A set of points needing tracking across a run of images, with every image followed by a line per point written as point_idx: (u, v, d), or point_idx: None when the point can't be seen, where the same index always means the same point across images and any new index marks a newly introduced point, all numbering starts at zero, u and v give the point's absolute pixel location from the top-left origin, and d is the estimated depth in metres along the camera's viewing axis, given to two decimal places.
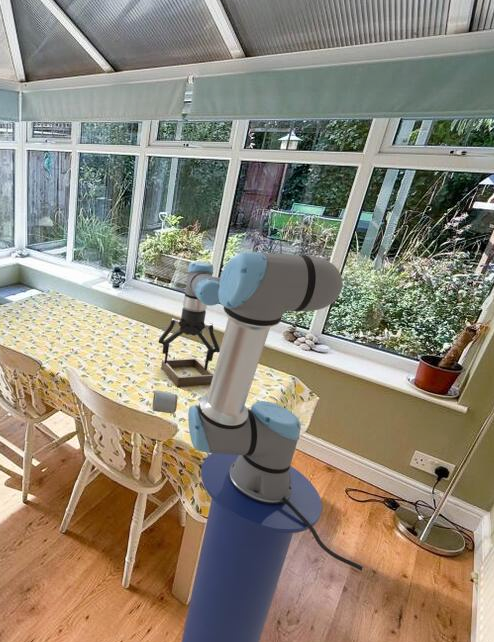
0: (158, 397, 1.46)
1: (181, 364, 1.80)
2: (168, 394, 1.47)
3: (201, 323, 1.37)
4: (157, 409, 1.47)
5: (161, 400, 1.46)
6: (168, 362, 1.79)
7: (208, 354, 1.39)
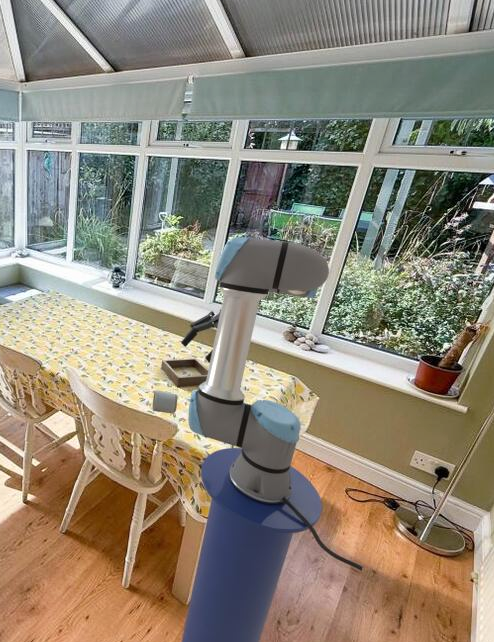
0: (158, 397, 1.46)
1: (181, 364, 1.80)
2: (168, 394, 1.47)
3: None
4: (157, 409, 1.47)
5: (161, 400, 1.46)
6: (168, 362, 1.79)
7: None
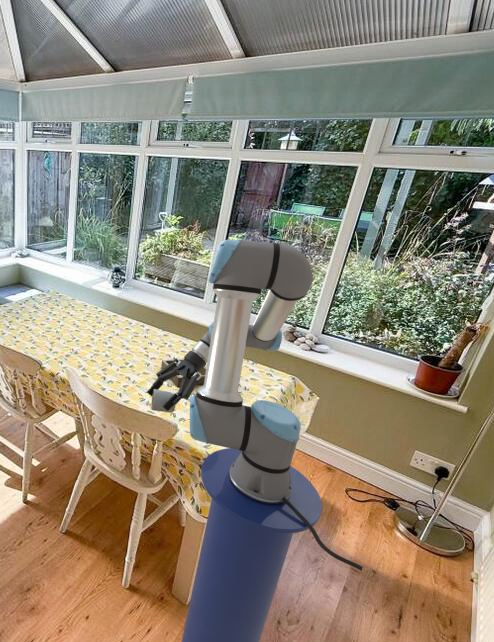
0: (157, 396, 1.47)
1: None
2: (167, 393, 1.48)
3: (194, 367, 1.46)
4: (156, 408, 1.47)
5: (160, 399, 1.46)
6: (168, 362, 1.79)
7: (174, 394, 1.44)
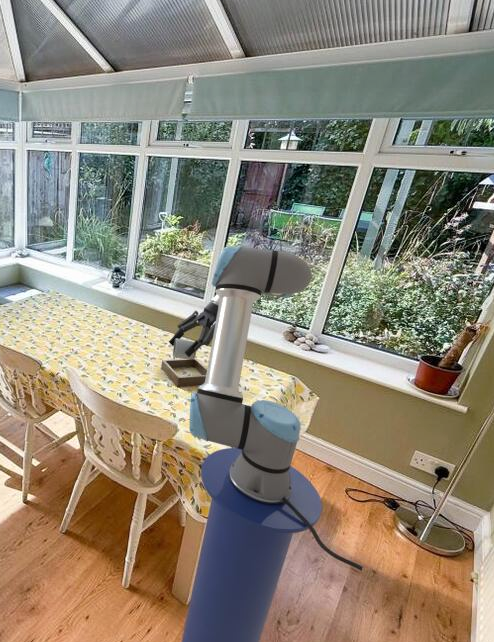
0: (179, 344, 1.58)
1: (181, 364, 1.80)
2: (188, 341, 1.59)
3: (213, 317, 1.57)
4: (178, 355, 1.59)
5: (182, 346, 1.58)
6: (168, 362, 1.79)
7: (196, 341, 1.55)
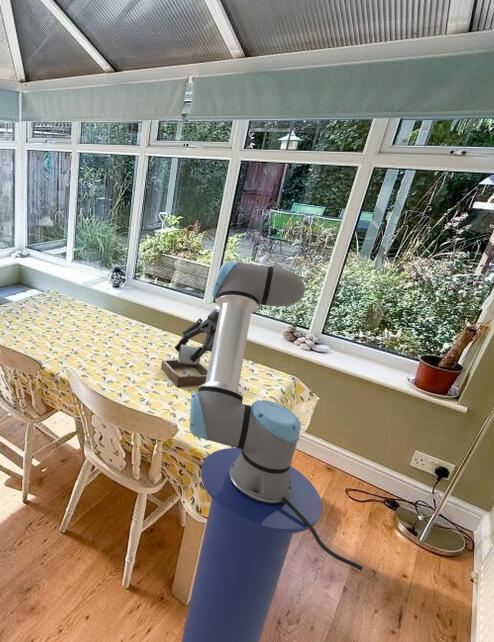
0: (184, 350, 1.68)
1: (181, 364, 1.80)
2: (193, 347, 1.69)
3: (217, 324, 1.67)
4: (183, 360, 1.68)
5: (187, 352, 1.67)
6: (168, 362, 1.79)
7: (200, 347, 1.65)
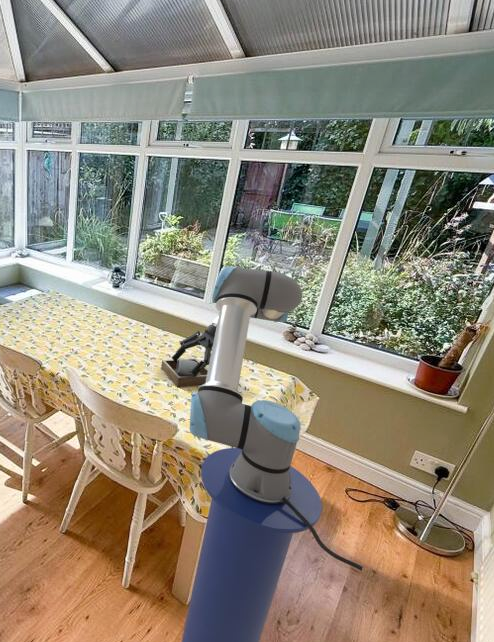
0: (182, 364, 1.70)
1: None
2: (190, 361, 1.71)
3: (214, 338, 1.69)
4: (181, 374, 1.70)
5: (184, 366, 1.69)
6: (168, 362, 1.79)
7: (201, 361, 1.66)
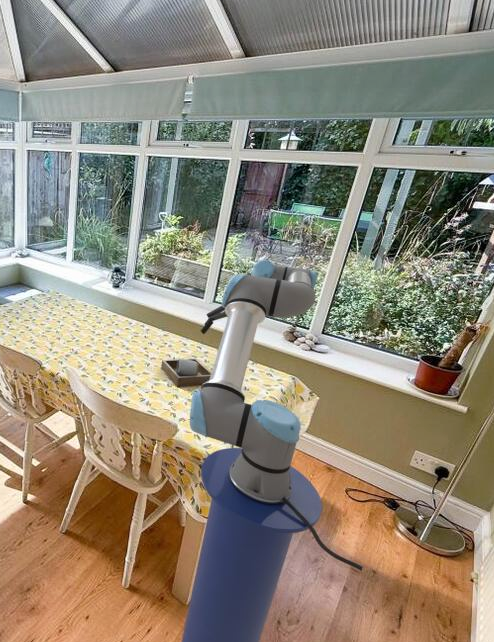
0: (182, 364, 1.70)
1: None
2: (190, 361, 1.71)
3: None
4: (181, 374, 1.70)
5: (184, 366, 1.69)
6: (168, 362, 1.79)
7: None
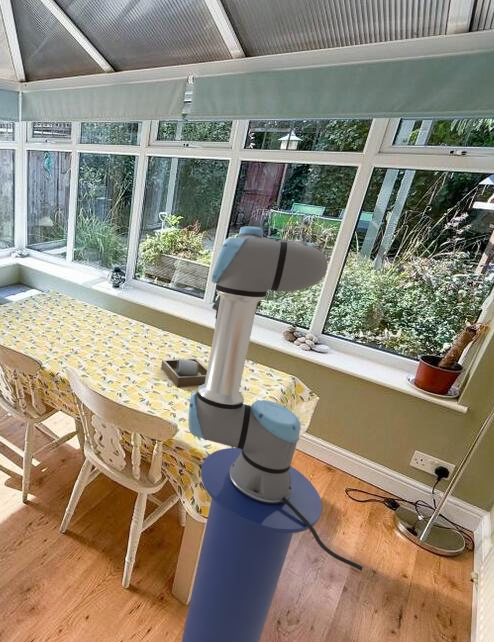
0: (182, 364, 1.70)
1: None
2: (190, 361, 1.71)
3: None
4: (181, 374, 1.70)
5: (184, 366, 1.69)
6: (168, 362, 1.79)
7: None
